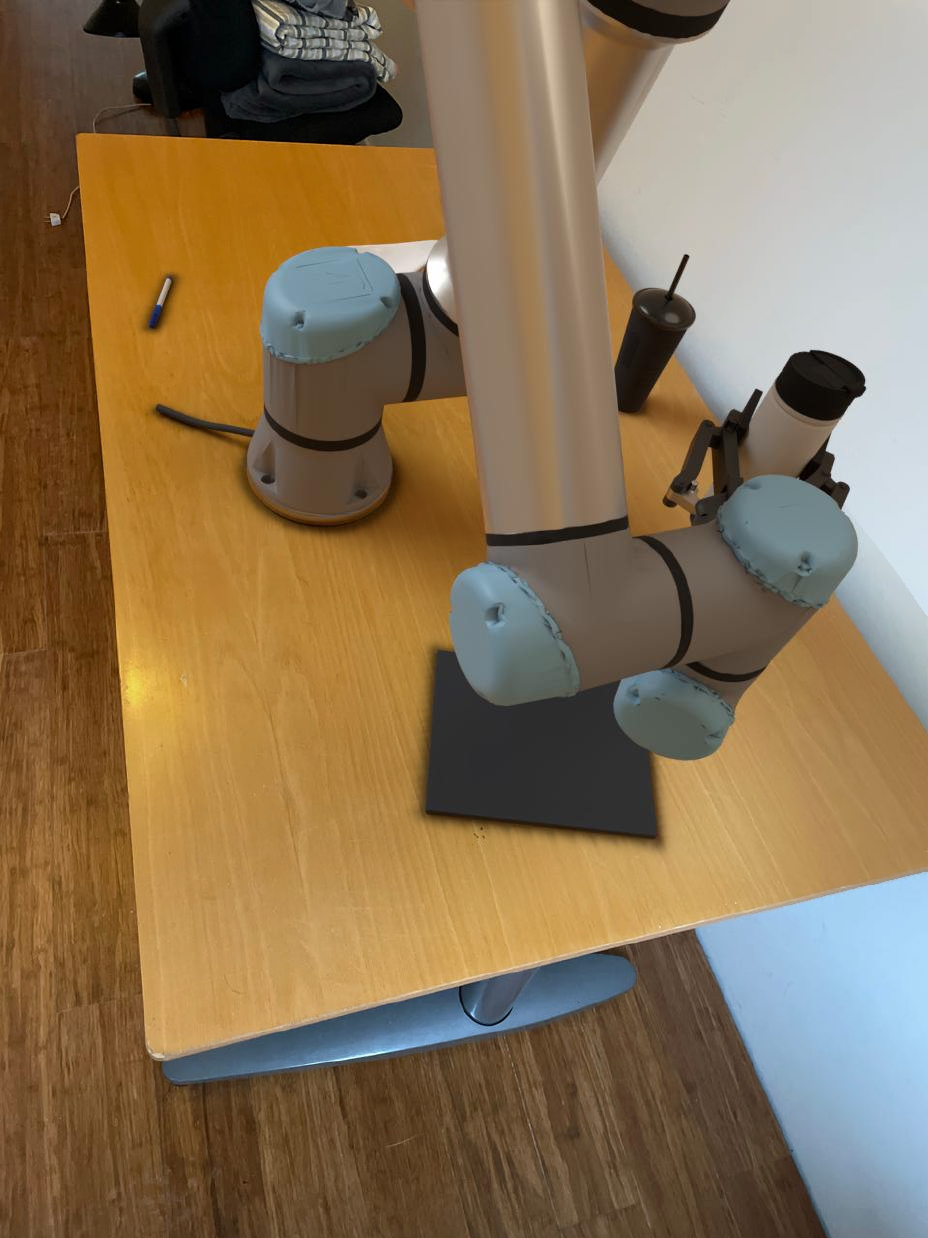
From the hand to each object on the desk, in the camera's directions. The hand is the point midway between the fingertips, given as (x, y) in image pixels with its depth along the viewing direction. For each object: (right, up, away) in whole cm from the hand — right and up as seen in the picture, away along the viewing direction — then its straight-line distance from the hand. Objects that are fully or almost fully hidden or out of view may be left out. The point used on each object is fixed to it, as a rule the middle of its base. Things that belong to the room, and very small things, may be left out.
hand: (787, 417), depth 75 cm
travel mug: (-4, -10, +6) cm, 12 cm away
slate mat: (-23, -30, -2) cm, 37 cm away
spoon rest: (-39, +24, +34) cm, 57 cm away
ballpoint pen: (-67, +20, +25) cm, 74 cm away
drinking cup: (-9, +10, +30) cm, 33 cm away
